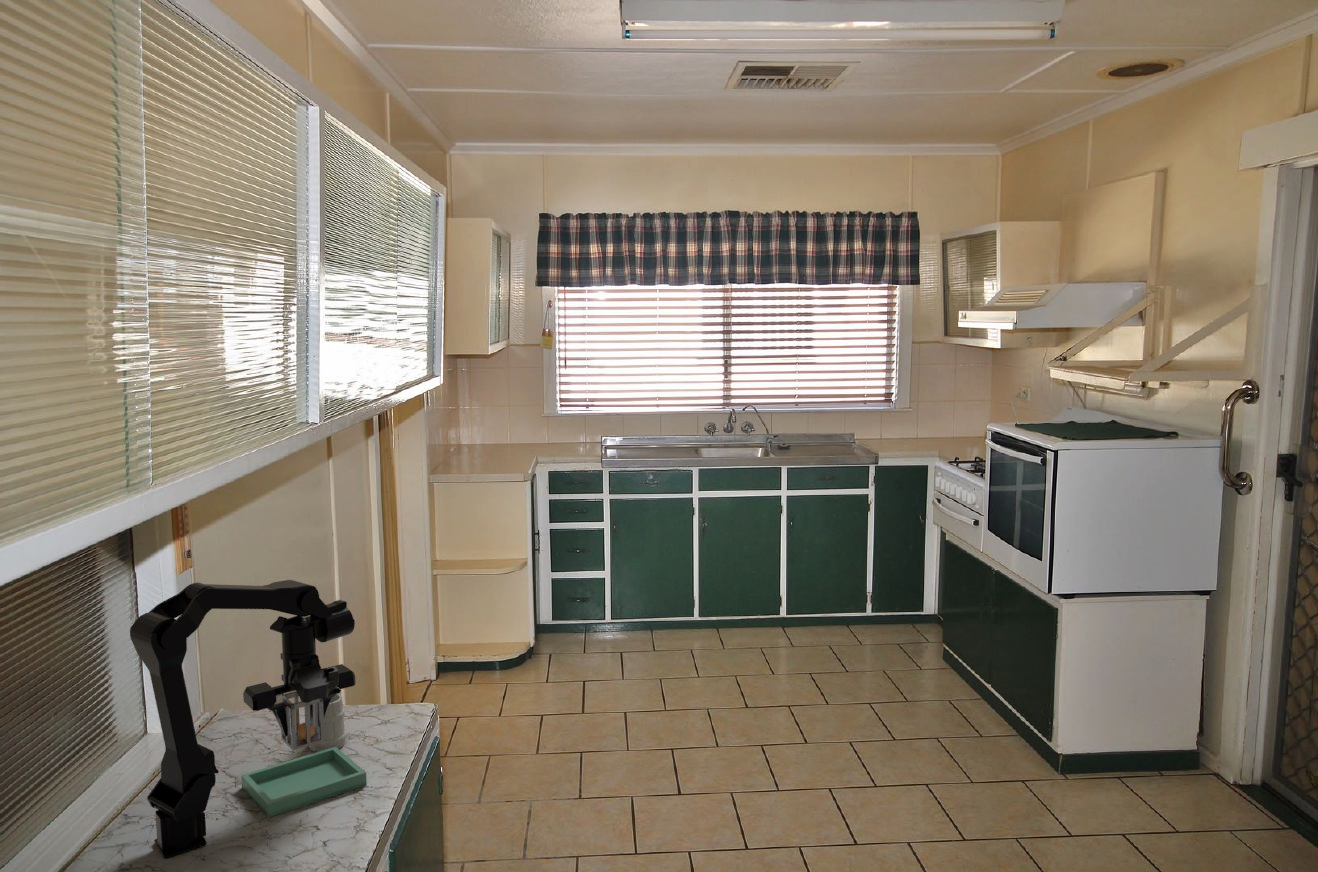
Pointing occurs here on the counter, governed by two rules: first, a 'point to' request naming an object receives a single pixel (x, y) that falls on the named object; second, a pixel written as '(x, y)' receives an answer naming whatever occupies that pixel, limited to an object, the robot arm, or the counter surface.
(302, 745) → the cage
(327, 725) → the mug
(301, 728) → the ball
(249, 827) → the counter surface
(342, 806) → the counter surface
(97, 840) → the counter surface
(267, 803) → the tray
